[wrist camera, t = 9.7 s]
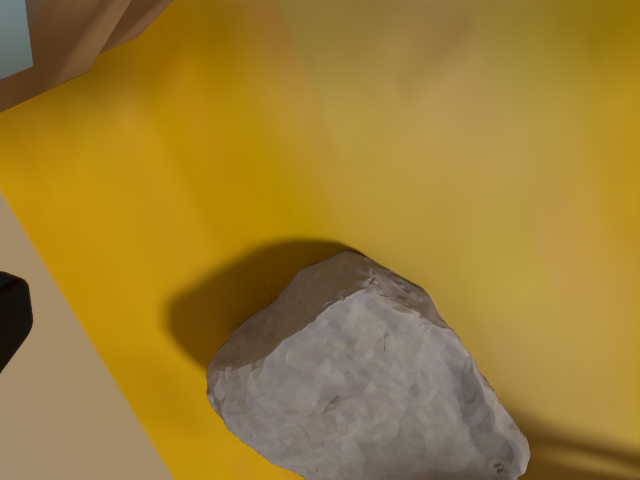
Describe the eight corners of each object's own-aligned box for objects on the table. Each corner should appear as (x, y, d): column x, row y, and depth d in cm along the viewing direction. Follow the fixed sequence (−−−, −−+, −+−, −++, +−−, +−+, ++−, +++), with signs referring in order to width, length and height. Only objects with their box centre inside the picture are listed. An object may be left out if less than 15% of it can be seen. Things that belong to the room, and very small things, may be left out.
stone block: (366, 200, 24) (207, 341, 28) (356, 255, 19) (169, 412, 23) (558, 390, 26) (388, 495, 30) (587, 475, 22) (384, 585, 26)
